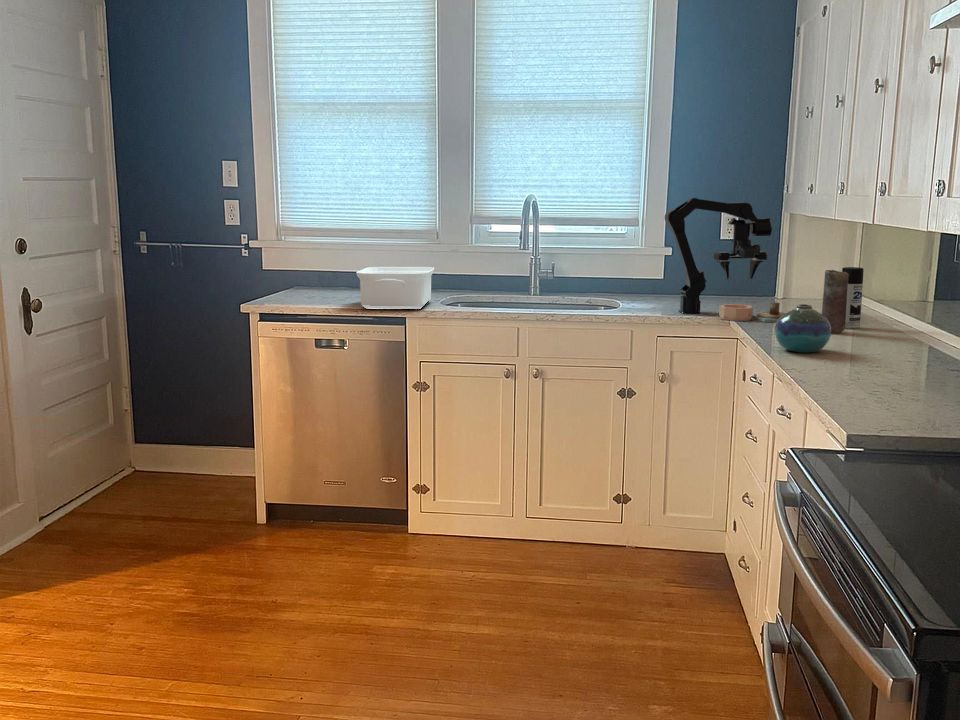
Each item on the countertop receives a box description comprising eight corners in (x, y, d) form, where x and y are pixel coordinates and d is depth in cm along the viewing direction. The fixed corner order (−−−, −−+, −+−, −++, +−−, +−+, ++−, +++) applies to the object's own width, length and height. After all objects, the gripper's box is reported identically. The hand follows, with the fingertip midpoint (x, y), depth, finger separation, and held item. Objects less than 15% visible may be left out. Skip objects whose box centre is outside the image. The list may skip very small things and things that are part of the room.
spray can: (850, 329, 292) (854, 269, 288) (833, 327, 298) (837, 267, 294) (864, 328, 295) (868, 268, 291) (847, 325, 301) (851, 266, 297)
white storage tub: (370, 300, 374) (369, 266, 371) (438, 301, 372) (437, 266, 369) (352, 312, 341) (351, 274, 338) (426, 312, 338) (425, 274, 335)
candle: (826, 329, 293) (831, 269, 289) (848, 332, 287) (853, 270, 284) (816, 332, 287) (820, 270, 283) (838, 335, 282) (843, 272, 278)
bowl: (727, 321, 312) (727, 308, 311) (715, 316, 322) (716, 304, 321) (756, 320, 313) (756, 307, 312) (743, 316, 323) (744, 304, 322)
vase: (841, 354, 251) (845, 307, 249) (794, 357, 247) (798, 309, 244) (807, 344, 266) (810, 300, 263) (762, 347, 261) (765, 303, 259)
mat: (764, 322, 309) (764, 319, 309) (748, 316, 322) (749, 314, 321) (799, 321, 310) (800, 318, 310) (783, 316, 323) (783, 313, 323)
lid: (765, 319, 309) (766, 305, 308) (751, 314, 321) (752, 301, 320) (797, 318, 311) (798, 304, 310) (782, 313, 322) (783, 300, 321)
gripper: (725, 238, 318) (723, 282, 321) (775, 237, 321) (772, 280, 324) (713, 236, 329) (712, 278, 332) (761, 236, 331) (759, 277, 334)
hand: (739, 279), depth 330 cm, fingers open, 9 cm apart
